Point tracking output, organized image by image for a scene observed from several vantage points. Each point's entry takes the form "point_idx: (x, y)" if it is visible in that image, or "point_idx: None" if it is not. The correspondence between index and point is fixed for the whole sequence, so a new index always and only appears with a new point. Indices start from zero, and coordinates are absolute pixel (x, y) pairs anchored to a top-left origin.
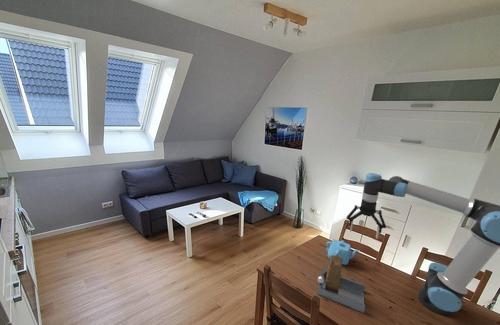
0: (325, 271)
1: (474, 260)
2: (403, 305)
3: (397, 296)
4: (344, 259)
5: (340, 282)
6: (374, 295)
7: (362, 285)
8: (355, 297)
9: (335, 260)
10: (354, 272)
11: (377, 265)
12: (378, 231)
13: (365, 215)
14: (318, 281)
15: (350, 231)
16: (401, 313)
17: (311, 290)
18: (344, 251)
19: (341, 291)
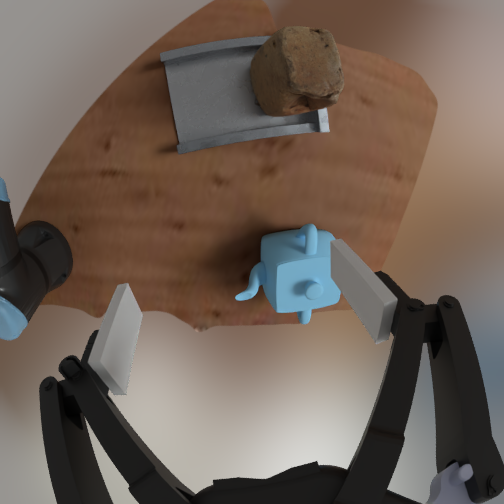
0: (318, 114)
1: None
2: (83, 183)
3: (101, 208)
4: (275, 240)
5: (256, 128)
6: (150, 157)
7: (185, 143)
8: (197, 98)
9: (315, 51)
10: (229, 223)
11: (182, 309)
12: (101, 333)
13: (287, 471)
14: None
15: (337, 239)
16: (82, 145)
17: None
18: (288, 258)
19: (242, 93)
